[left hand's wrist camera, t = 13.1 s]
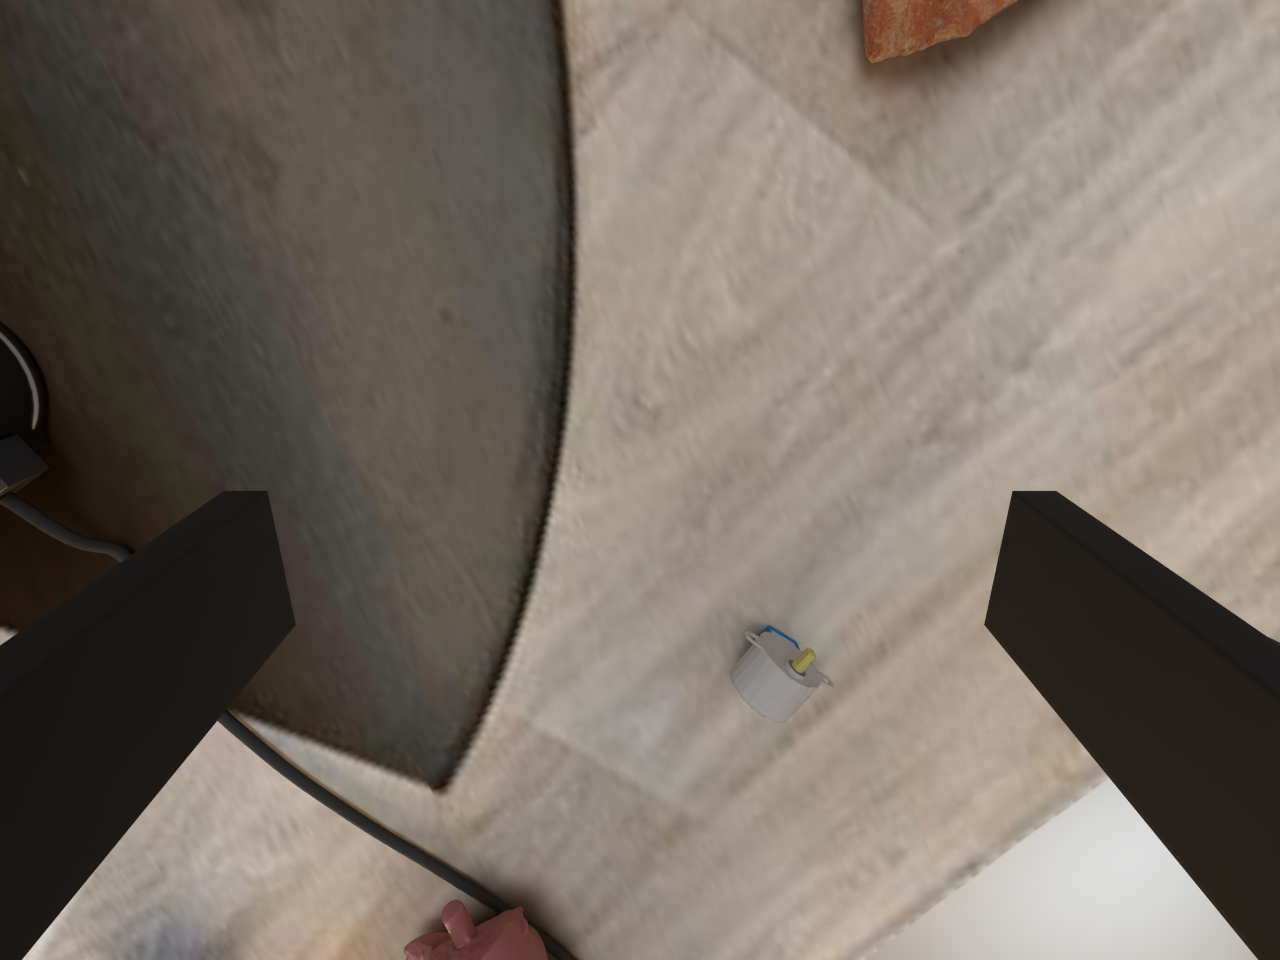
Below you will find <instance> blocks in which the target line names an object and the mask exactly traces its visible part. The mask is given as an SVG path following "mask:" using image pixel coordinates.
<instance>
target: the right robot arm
mask: <svg viewBox="0 0 1280 960" xmlns="http://www.w3.org/2000/svg"><path fill="white" fill-rule="evenodd" d="M45 410H46V401H45V393H44V388H43V384H42V381H41V378H40V375H39V373H38V370H37V368H36V366H35V364H34V363H33V361H32V359H31V358H30V356H29V354H28V353H27V352H26V350H25V349H24V347H23V346H22V345H21V344H20V343H19V341H18V340H17V339H16V338H15V337H14V336H13V335H12V334H11V333H10V332H9V331H8V330H7V329H6V328H4V327H3V326H2V325H1V324H0V504H1V505H3V506H5V507H6V508H8V509H9V510H11V511H12V512H14V513H16V514H17V515H19V516H20V517H22V518H23V519H25V520H26V521H27V522H29V523H31V524H32V525H34V526H35V527H37V528H38V529H40V530H41V531H43V532H45V533H46V534H48V535H50V536H52V537H53V538H55V539H57V540H59V541H61V542H63V543H65V544H67V545H70V546H72V547H74V548H77V549H81V550H85V551H90V552H97V553H104V554H108V555H110V556H112V557H114V558H115V559H116V560H117V561H118V562H119V563H120V562H122V561H123V560H125V559H126V558H128V557H129V556H131V555H132V553H131V552H130V551H129V550H128V549H126V548H125V547H124V546H122V545H120V544H118V543H115V542H111V541H107V540H101V539H94V538H89V537H86V536H83V535H81V534H79V533H77V532H74V531H73V530H71V529H69V528H67V527H65V526H63V525H62V524H60V523H58V522H57V521H55V520H53V519H52V518H50V517H49V516H47V515H46V514H44V513H43V512H41V511H40V510H38V509H37V508H35V507H34V506H33V505H31V504H30V503H28V502H27V501H25V500H24V499H22V498H21V497H19V496H18V495H16V494H14V493H15V492H16V491H18V490H19V489H21V488H22V487H24V486H25V485H27V484H28V483H29V482H31V481H32V480H34V479H35V478H37V477H38V476H39V475H41V474H42V473H44V472H45V471H47V470H48V469H49V466H48V465H47V464H46V463H45V462H44V461H43V460H42V459H41V458H40V457H39V456H38V455H37V454H36V453H35V452H34V451H35V450H37V449H40V448H42V447H45V446H47V445H49V443H50V441H49V439H48V437H47V435H46V433H45V432H44V429H43V426H42V424H43V421H44V417H45ZM217 721H218V722H219V723H221V724H222V725H223V726H224V727H225V728H226V729H227V730H229V731H230V732H231V733H232V734H233V735H234V736H235V737H237V738H238V739H239V740H240V741H241V742H243V743H244V744H245V745H246V746H247V747H249V748H250V749H251V750H252V751H253V752H254V753H256V754H257V755H258V756H259V757H260V758H262V759H263V760H264V761H265V762H266V763H268V764H269V765H270V766H271V767H273V768H274V769H275V770H276V771H278V772H279V773H280V774H282V775H283V776H284V777H286V778H287V779H288V780H290V781H291V782H292V783H294V784H295V785H296V786H298V787H299V788H301V789H302V790H303V791H305V792H306V793H308V794H309V795H311V796H312V797H314V798H315V799H316V800H318V801H319V802H321V803H322V804H324V805H325V806H327V807H328V808H330V809H331V810H333V811H334V812H336V813H337V814H339V815H340V816H342V817H343V818H345V819H346V820H348V821H349V822H351V823H352V824H354V825H355V826H357V827H359V828H360V829H362V830H363V831H365V832H366V833H368V834H370V835H371V836H373V837H374V838H376V839H378V840H379V841H381V842H383V843H384V844H386V845H388V846H389V847H391V848H393V849H394V850H396V851H398V852H399V853H401V854H403V855H404V856H406V857H408V858H410V859H411V860H413V861H415V862H416V863H418V864H420V865H421V866H423V867H424V868H426V869H428V870H429V871H431V872H433V873H434V874H436V875H437V876H439V877H441V878H442V879H444V880H445V881H447V882H448V883H450V884H452V885H453V886H455V887H456V888H458V889H460V890H461V891H463V892H465V893H466V894H468V895H469V896H471V897H473V898H474V899H476V900H477V901H479V902H481V903H482V904H484V905H485V906H487V907H488V908H490V909H492V910H493V911H495V912H496V913H498V914H501V913H502V912H504V911H507V910H513V909H512V908H510V907H509V906H508V905H506V904H505V903H503V902H502V901H500V900H499V899H497V898H496V897H494V896H493V895H491V894H490V893H488V892H486V891H485V890H483V889H482V888H480V887H479V886H477V885H475V884H474V883H472V882H471V881H469V880H467V879H466V878H464V877H463V876H461V875H459V874H458V873H456V872H455V871H453V870H452V869H450V868H448V867H447V866H445V865H444V864H442V863H440V862H439V861H437V860H436V859H434V858H433V857H431V856H429V855H428V854H426V853H424V852H423V851H421V850H419V849H418V848H416V847H414V846H413V845H411V844H409V843H408V842H406V841H404V840H403V839H401V838H399V837H398V836H396V835H394V834H393V833H391V832H389V831H388V830H386V829H385V828H383V827H381V826H380V825H378V824H377V823H375V822H373V821H372V820H370V819H369V818H367V817H366V816H364V815H363V814H361V813H360V812H358V811H357V810H355V809H354V808H352V807H351V806H349V805H348V804H346V803H345V802H343V801H342V800H340V799H339V798H337V797H336V796H334V795H333V794H331V793H330V792H328V791H327V790H326V789H324V788H323V787H321V786H320V785H318V784H317V783H315V782H314V781H313V780H311V779H310V778H308V777H307V776H306V775H304V774H303V773H302V772H300V771H299V770H298V769H296V768H295V767H294V766H292V765H291V764H290V763H288V762H287V761H286V760H285V759H283V758H282V757H281V756H280V755H278V754H277V753H276V752H275V751H274V750H272V749H271V748H270V747H269V746H268V745H267V744H265V743H264V742H263V741H262V740H261V739H259V738H258V737H257V736H256V735H255V734H254V733H252V732H251V731H250V730H249V729H248V728H247V727H245V726H244V725H243V724H242V723H241V722H240V721H239V720H237V719H236V718H235V717H234V716H233V715H232V714H231V713H230V712H229V711H227V710H226V711H225V712H224V713H223V714H222V715H221V717H220V718H219V719H218V720H217ZM526 920H527V919H526ZM527 922H528V925H530V926H532V927H533V928H534V929H535V930H536V931H537V932H538V934H539V935H540V937H541V939H542V941H543V943H544V946H545V949H546V950H547V951H548V952H549V953H551V954H552V955H553V956H554V957H555V958H556V959H558V960H575V959H574V958H573V957H572V956H570V955H569V954H568V953H567V952H566V951H565V950H564V949H563V948H562V947H561V946H559V945H558V944H557V943H556V942H555V941H553V940H552V939H551V938H550V937H549V936H547V935H546V934H545V933H544V932H542V931H541V930H540V929H538V928H537V927H536V926H535V925H533V924H532V923H531V922H529V921H528V920H527Z"/></svg>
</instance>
